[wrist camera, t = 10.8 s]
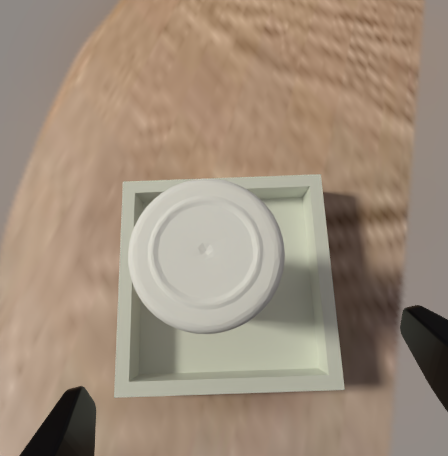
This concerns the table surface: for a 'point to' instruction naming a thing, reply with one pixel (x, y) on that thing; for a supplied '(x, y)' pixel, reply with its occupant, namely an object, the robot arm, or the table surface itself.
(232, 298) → the sprinkles bottle
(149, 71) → the table surface
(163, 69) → the table surface
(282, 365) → the tray
